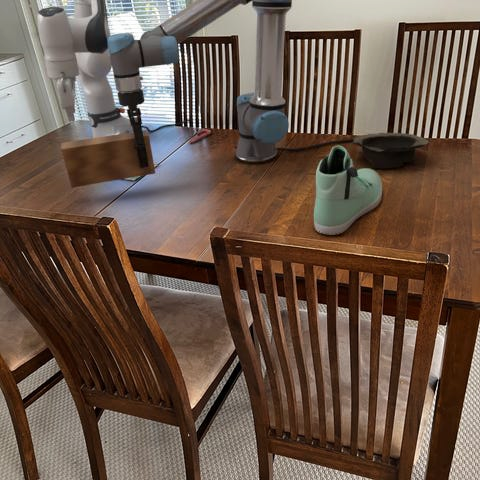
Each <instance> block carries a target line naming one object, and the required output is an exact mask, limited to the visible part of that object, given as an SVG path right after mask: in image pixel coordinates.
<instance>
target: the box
mask: <svg viewBox="0 0 480 480" xmlns="http://www.w3.org/2000/svg"><path fill="white" fill-rule="evenodd" d="M142 132H143V137H144V142H145V145H146V146H145V148H146V153H147V158H148V164H149V167H143V168H140V164H139V158H138V153H137V149H135V148H134V147H136V146H137V145H136V140H135V135H134V132H130V133H123V134H116V135H110V136H103V137H97V138H85V139H77V140H71V141H66V142H61V146H60V147H61V148H60V151H61V154H62V158H63V161H64V162H63V163H64V166H65V169H66V172H67V176H68V179H69V183H70V187H71V188H72V189H73V188H79V187H85V186H90V185H97V184H103V183H108V182H113V181H119V180H127V179H126V178H132V177H137V176H140V177H142V176H149V175H155V174H156V167H154V164H155V163H154V162H155V161H154V158H153V157H154V156H153V151H152V146H151V139H150V134H149V131H148V130H147V129H144V130H143V129H142Z"/></svg>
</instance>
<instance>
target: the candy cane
mask: <svg viewBox="0 0 480 480" xmlns="http://www.w3.org/2000/svg"><path fill="white" fill-rule="evenodd" d="M196 134H197V135H198V136H196V137H194V138H192V139H190V140H189V142H188V143H189V144H191V145H192V144H194V143H196V142H199V140H203V139H204V138H206V137H208V136H210V135H211V134H212V131H211V130H210V129H208V128H203V129H200V130H199V129H198V130H197V132H196Z"/></svg>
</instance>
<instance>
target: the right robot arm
mask: <svg viewBox="0 0 480 480" xmlns="http://www.w3.org/2000/svg"><path fill="white" fill-rule="evenodd" d="M249 3H251V7H252V8H253V10H254V11H255V12H256V32H255V33H256V35H255V36H256V37H255V63H254V65H255V68H254V70H255V71H254V92H249V93H244V94H241V95H240V94H239V96H238V97H237V99H236V110H237V120H238V121H237V123H238V135H239V137H238V138H239V139H238V142H237V148H236V150H235V158H236V160H237V161H239V162H240V163H243V164H249V165H250V164H251V165H253V164H254V165H255V164H258V165H259V164H265V163H268V162H271V161H273V160H275V159H276V158H277V157H278V151H282V152H283V151H286V152H297V151H298V152H299V151H303V150H304V151H305V150H308V149H314V148H318V147H322V146H328V145H334V144H341V143H348V142H350V143H351V142H354V138H349V139H348V138H347V139H339V140H332V141H327V142H321V143H317V144H313V145H312V144H311V145H307V146H303V147H297V148H295V147H294V148H287V147H276V144H277V143H279V142H281V141H282V140H283V139H285V137H286V135H287V134H288V131H289V128H290V123H289V119H288V117H287V115H286V100H285V99H284V97H283V96H282V86H283V85H282V84H283V70H284V53H285V52H284V51H285V35H286V21H287V19H286V18H287V13H288V12H289V11H290V10H291V9H292V7H293V0H196V1H194V2H193V3H190V4H189V5H188V6H187V7H185V8H184V9H182V10H181V11H179V12H177V13H176V14H174V15H173V16H171V17H170V18H168V19H166V20H165V21H163V22H162V23H160V24H159V25H157V26H156V27H154V28H153V29H149V30H147V31H144V32H143V33H142V35H141V36H140V38H139V39H135V36H134V34H133V33H132V32H123V33H122V32H121V33H114V34H111V35H110V36H109V37H108V39H107V42H108V49H109V56H110V60H111V64H112V67H111V70H112V73H113V79H114V85H115V89H116V91H117V99H118V103H119V105H120V106H122V107H127V109H126V113H127V116H128V119H129V120H130V124H131V126H132V128H133V132H134V135H135V140H136V145H137V146H136V147H134V148H135V149H137V153H138V158H139V164H140V168H143V167H149V164H148V158H147V153H146V148H145V146H146V145H145V142H144V137H143V132H142V131H143V128H142V126H143V120H142V111H141V109H140V107H138V105H142V104H143V103H145V94H144V90H143V89H142V88H143V85H142V81H143V80H144V78H143V76H141V72H140V68H142V69H143V68H150V67H158V66H169V65H172V64H176V63H178V62H179V59H180V53H179V46H178V45H179V44H180V43H182V42H183V41H185V40H187V39H188V38H190V37H191V36H194V35H195V34H196V33H198V32H199V31H201V30H202V29H204V28H205V27H207V26H208V25H210V24H212V23H213V22H215V21H216V20H218V19H219V18H221V17H223V16H225V15H226V14H227V13H229V12H230V11H232V10H233V9H235V8H237V7H238V6H240V5H243V6H247V5H248V4H249Z"/></svg>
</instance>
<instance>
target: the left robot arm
mask: <svg viewBox="0 0 480 480" xmlns="http://www.w3.org/2000/svg"><path fill="white" fill-rule="evenodd" d="M73 15H74V17H68V15H67V11H66V9H64V8H63V7H59V6H48V7H44V8H41V9H40V10H38V11H37V16H36V17H37V29H38V36H39V41H40V45H41V47H42V49H43V52H44V54H43V55H44V56H43V57H44V65H45V68H46V73H47V77H48V78H49V79H53V83H54V84H56V87H57V93H58V97H59V103H60V107H61V109H62V110H65V112H66V116H67V120H68V122H75V120H76V117H75V113H76V105H75V104H76V93H77V92H76V81H77V78H78V81H79V84H80V86H81V89H82V92H83V96H84V100H85V104H86V108H87V118H88V122H89V125H90V127H91V128H90V129H91V137H92V138H97V137H103V136H110V135H116V134H123V133H130V132H133V128H132V126H131V124H130V120H129V118H127V117H125V116H123V115H122V114H125V112H126V109H125V108H124V107H123V108H122V107H117V106H116V103H115V97H114V94H113V88H112V86H111V84H110V81H109V79H108V75H109V74H110V72H111V71H112V64H111V60H110V55H109V49H108V42H107V39H108V37H109V36H110V35H112V34H111V30H110V27H109V21H108V19H109V18H108V13H107V3H106V0H73ZM186 122H189V123H192V120H191V119H185V120H183V121H181V122H178V123H171V124H164V125H161V126H158V127H157V128H155V129H152V130H151V129H150V127H148V126H146V125H141V126H142V129H145V130H147V132H148V133H154V132H156V131H159V130H161V129H163V128H168V127H175V126H180V125H181V126H182V125H183V124H184V123H186Z"/></svg>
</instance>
